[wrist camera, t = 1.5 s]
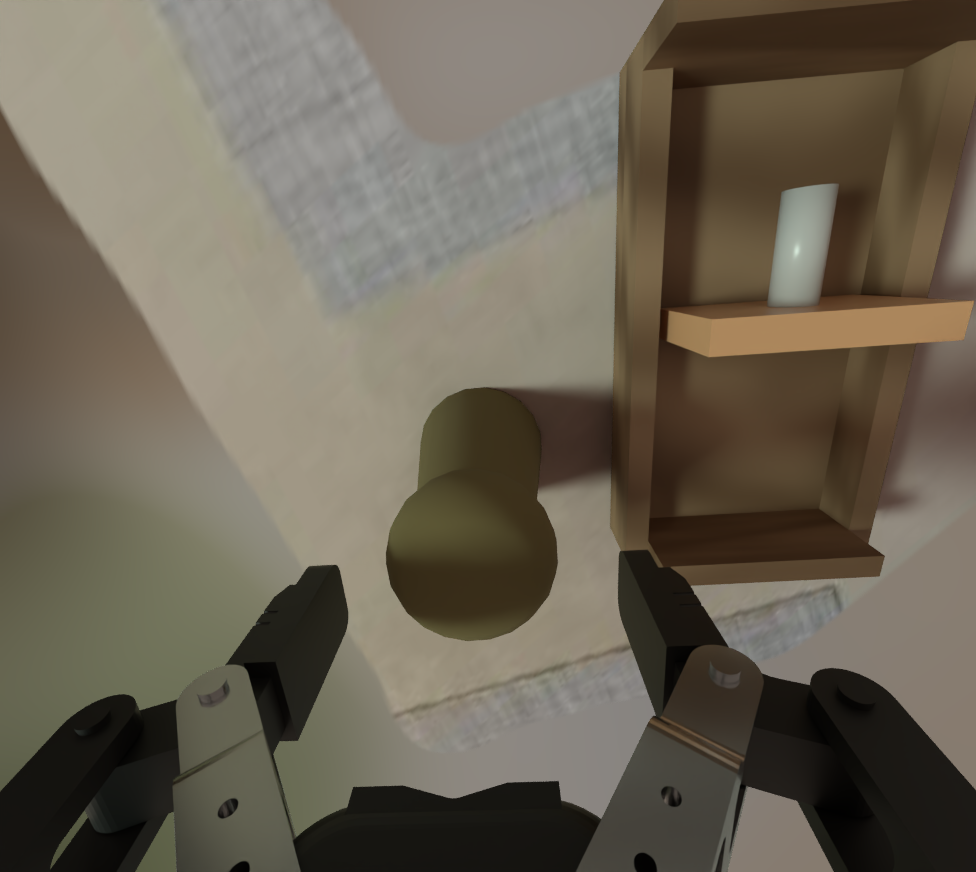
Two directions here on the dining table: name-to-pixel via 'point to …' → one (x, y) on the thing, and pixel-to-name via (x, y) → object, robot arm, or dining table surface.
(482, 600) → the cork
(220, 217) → the dining table surface
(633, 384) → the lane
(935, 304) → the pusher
